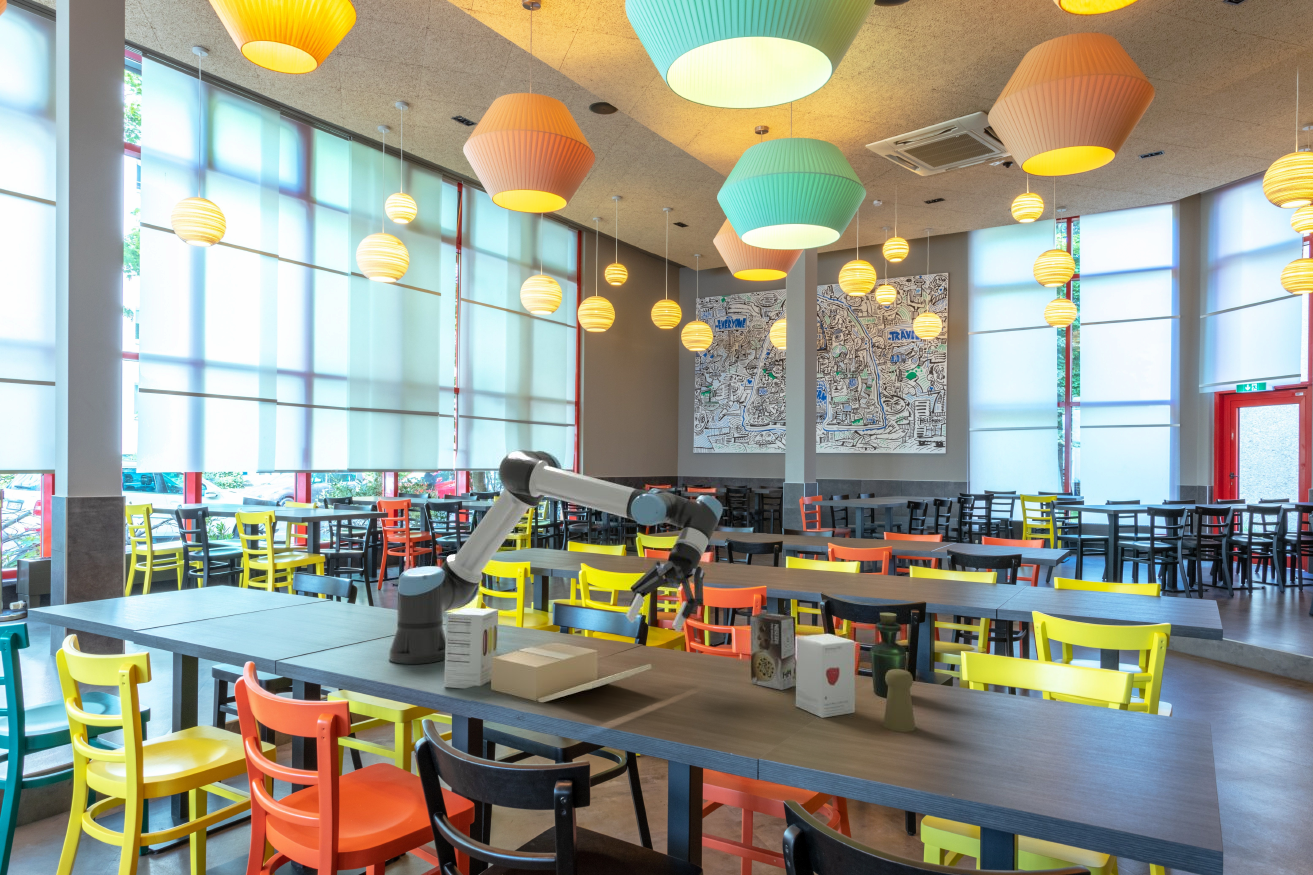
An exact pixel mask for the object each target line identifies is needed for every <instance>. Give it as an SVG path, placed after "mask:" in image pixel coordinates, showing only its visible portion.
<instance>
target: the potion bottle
mask: <svg viewBox="0 0 1313 875" xmlns="http://www.w3.org/2000/svg"><path fill="white" fill-rule="evenodd" d="M897 616H898V615H897V614H896V613H893V612H879V617H880V618H879V619H880V622H877V623H876V624H875V627H874V629H875V630H876V631H879V636H880V638H881V641H879V642H877V643H875V644H873V645H872V646H871V648H870V650H869V654H870V663H871V666H870V667H871V674H872V687H873V693H874V694H875V696H879V697H881V698H882V697H883V698H887V693H888V685H887V684H886V680H885V676H886V673H887V672H888V671H889V670H892V669H901V670H905V671H907V656H908V654H907V651H906V649H905V647H903V646H902V645H900V644H899V643H897V642H896V637H897V634H898V632H901V631H902V627H901V624H899V623H897Z"/></svg>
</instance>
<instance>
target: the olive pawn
mask: <svg viewBox="0 0 1313 875" xmlns="http://www.w3.org/2000/svg"><path fill="white" fill-rule="evenodd" d="M885 680H886V684H887V685H888V693H887V697H886V702H885V710H884V716H883V727H884V728H885V729H887V730H890V731H893V732H901V733H907V732H914V731H916V723H915V714H914V709H913V708H914V707H913V702H912V701H913V700H912V694H911V688H912V686H913V682H914V678H913V675H912V673H911V672H910V671H908V670H901V669H892V670H889V671H888V672H887V673H886V676H885Z"/></svg>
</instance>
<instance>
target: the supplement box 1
mask: <svg viewBox="0 0 1313 875" xmlns="http://www.w3.org/2000/svg"><path fill="white" fill-rule="evenodd" d="M498 634H499V609H496V608H477V607H476V608H474V607H461V609H460V608H459V609H458V610H454V611H452V612H448V613H446V616H445V637H446V646H445V659H444V683H443V684H444V685H443V687H444V688H453V689H454V688H455V689H467V688H472V687H474V686H475V687H481V686H483V685H485V684H486V683H489V682H490V683H491V669H492V657H495V656H498V640H499V639H498V638H499V637H498Z"/></svg>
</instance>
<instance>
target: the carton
mask: <svg viewBox="0 0 1313 875" xmlns="http://www.w3.org/2000/svg"><path fill="white" fill-rule="evenodd" d="M598 652H599V651H598V650H597V649H591V648H587V647H581V646H574V645H571V644H564V643H559V642H551V643H546V644H545V643H544V644H542V645H537V646H533V647H531V646H529V647H526V648H521V649H518V650H516V651H512V652H509V653H504V654H500V655H497V656H495V657H492V669H491V681H490V689H491V691H497V692H500V693H504V694H508V695H513V696H516V697H520V698H523V699H527V700H532V701H535V702H536V701H537V702H538V699H539V698H542V697H545V696H548V695H551V694H554V693H558V692H561V691H564V690H567V689H570V688H573V687H577V686H580V685H583V684H586V683H589V682H592V681H595V680H598V662H599V661H598V660H599V659H598V658H599V657H598Z"/></svg>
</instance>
